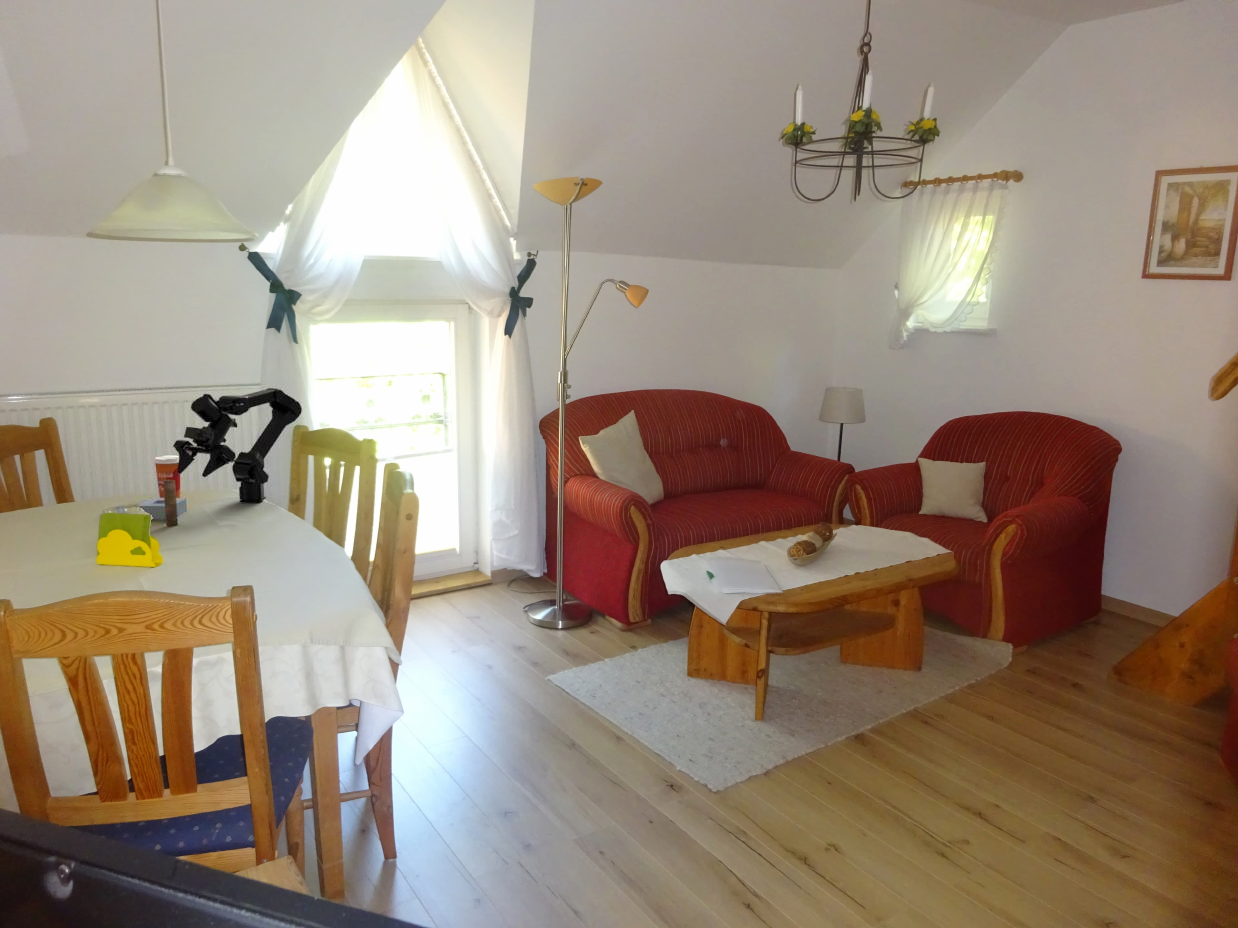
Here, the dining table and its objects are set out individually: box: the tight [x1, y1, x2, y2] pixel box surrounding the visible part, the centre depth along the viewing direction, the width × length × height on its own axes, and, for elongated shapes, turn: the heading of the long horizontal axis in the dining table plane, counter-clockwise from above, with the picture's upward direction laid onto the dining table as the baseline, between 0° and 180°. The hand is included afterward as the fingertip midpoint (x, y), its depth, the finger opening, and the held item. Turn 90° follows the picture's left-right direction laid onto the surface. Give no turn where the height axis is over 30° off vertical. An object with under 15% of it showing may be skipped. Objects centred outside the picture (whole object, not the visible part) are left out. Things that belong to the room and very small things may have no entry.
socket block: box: [136, 497, 188, 520], centre depth 251 cm, size 10×10×4 cm
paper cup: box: [153, 454, 181, 498], centre depth 267 cm, size 8×8×14 cm
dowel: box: [163, 480, 179, 528], centre depth 240 cm, size 3×3×13 cm
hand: (190, 474), depth 247 cm, fingers open, 9 cm apart
